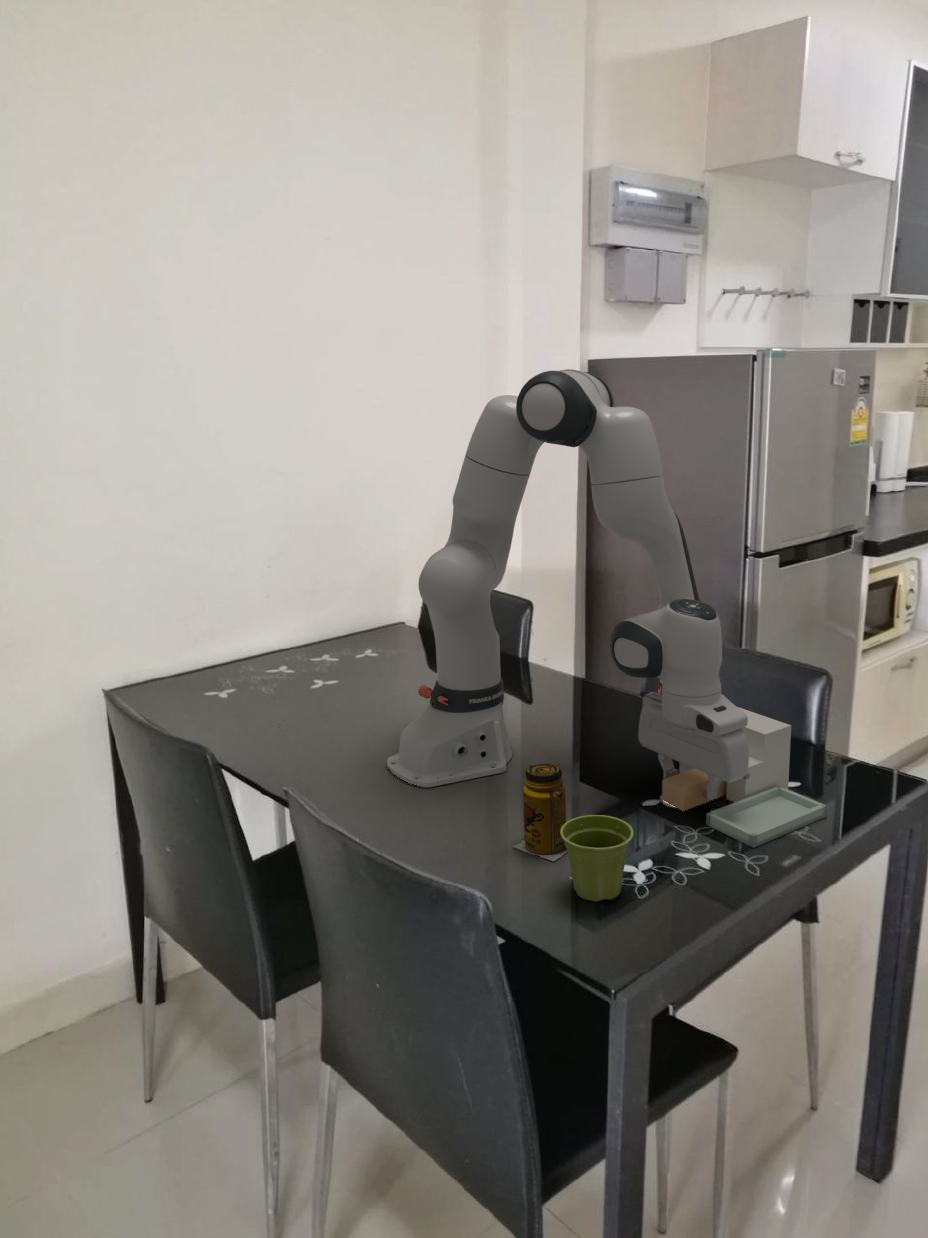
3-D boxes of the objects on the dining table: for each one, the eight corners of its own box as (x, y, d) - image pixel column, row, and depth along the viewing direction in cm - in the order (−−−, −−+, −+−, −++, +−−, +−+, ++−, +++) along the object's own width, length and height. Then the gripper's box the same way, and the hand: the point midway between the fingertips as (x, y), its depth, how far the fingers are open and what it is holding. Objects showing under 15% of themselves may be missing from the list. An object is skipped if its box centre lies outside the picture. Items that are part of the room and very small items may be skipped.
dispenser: (679, 777, 163) (680, 715, 160) (721, 762, 168) (723, 702, 165) (744, 807, 152) (747, 740, 149) (788, 790, 157) (791, 725, 154)
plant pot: (615, 917, 124) (615, 854, 121) (549, 898, 128) (547, 838, 126) (644, 883, 131) (644, 823, 129) (580, 866, 136) (579, 809, 134)
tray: (753, 848, 139) (753, 836, 139) (706, 824, 146) (706, 813, 146) (826, 816, 147) (826, 805, 147) (777, 796, 155) (778, 785, 154)
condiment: (512, 848, 142) (509, 771, 139) (546, 826, 148) (544, 752, 145) (553, 863, 137) (552, 784, 134) (587, 839, 144) (586, 763, 141)
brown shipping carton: (682, 813, 151) (683, 789, 150) (662, 803, 155) (662, 779, 154) (736, 792, 157) (737, 769, 156) (715, 783, 161) (715, 760, 160)
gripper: (629, 693, 158) (629, 772, 161) (727, 729, 141) (724, 817, 144) (658, 684, 161) (657, 763, 164) (756, 719, 144) (753, 805, 148)
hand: (689, 788), depth 154 cm, fingers open, 7 cm apart
